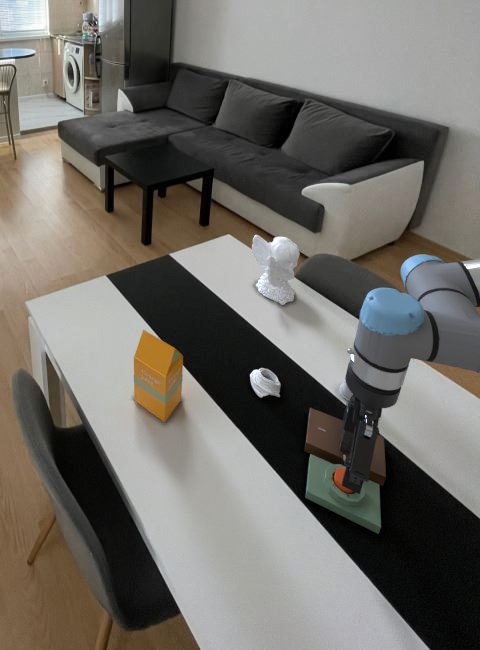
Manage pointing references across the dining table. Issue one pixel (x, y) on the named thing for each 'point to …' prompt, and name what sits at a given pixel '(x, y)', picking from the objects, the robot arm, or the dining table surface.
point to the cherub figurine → (276, 267)
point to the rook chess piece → (345, 391)
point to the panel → (327, 444)
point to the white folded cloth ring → (265, 383)
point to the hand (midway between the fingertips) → (351, 458)
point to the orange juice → (157, 376)
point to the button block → (343, 495)
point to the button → (338, 480)
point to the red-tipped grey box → (346, 434)
